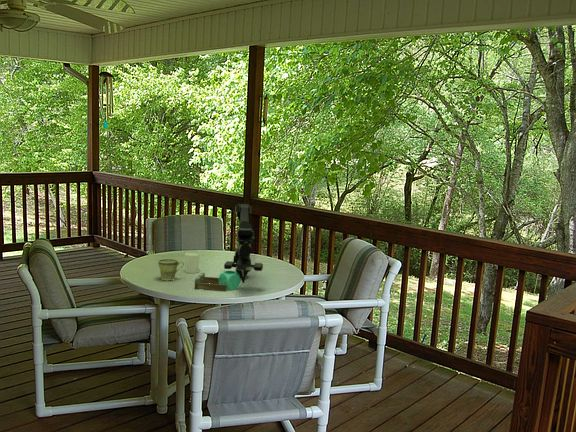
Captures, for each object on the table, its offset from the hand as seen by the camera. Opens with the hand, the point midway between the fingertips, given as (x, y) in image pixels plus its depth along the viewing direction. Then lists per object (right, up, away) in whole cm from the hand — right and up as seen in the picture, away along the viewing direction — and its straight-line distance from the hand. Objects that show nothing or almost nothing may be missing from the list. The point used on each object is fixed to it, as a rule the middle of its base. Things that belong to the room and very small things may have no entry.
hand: (243, 282), depth 276 cm
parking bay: (-15, -2, +2) cm, 15 cm away
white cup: (-31, +2, +30) cm, 43 cm away
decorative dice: (-7, -3, +1) cm, 8 cm away
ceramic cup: (-39, 0, +12) cm, 40 cm away
